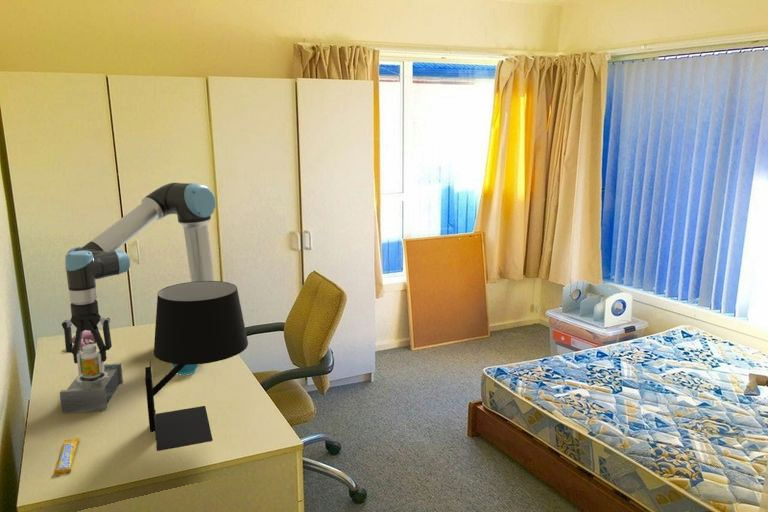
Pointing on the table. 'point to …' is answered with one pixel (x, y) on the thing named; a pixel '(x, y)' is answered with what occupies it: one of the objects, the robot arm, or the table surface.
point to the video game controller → (85, 338)
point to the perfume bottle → (187, 369)
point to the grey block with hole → (92, 391)
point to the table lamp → (192, 350)
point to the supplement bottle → (90, 361)
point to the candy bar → (67, 456)
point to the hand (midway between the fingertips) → (91, 371)
